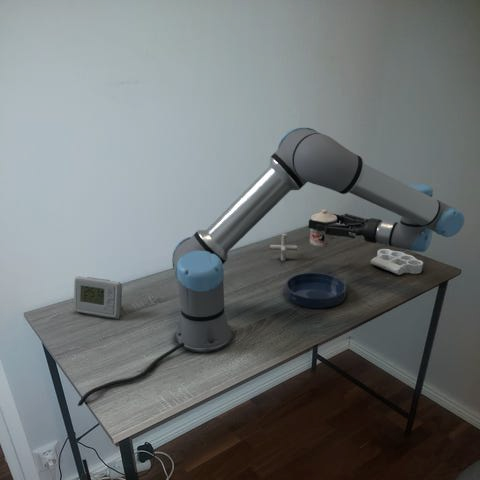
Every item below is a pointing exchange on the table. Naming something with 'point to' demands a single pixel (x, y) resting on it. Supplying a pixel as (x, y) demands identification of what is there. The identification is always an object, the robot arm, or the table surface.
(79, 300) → the digital clock
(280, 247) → the pipe connector
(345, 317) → the table surface
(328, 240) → the teacup with lid
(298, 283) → the bowl
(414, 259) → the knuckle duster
